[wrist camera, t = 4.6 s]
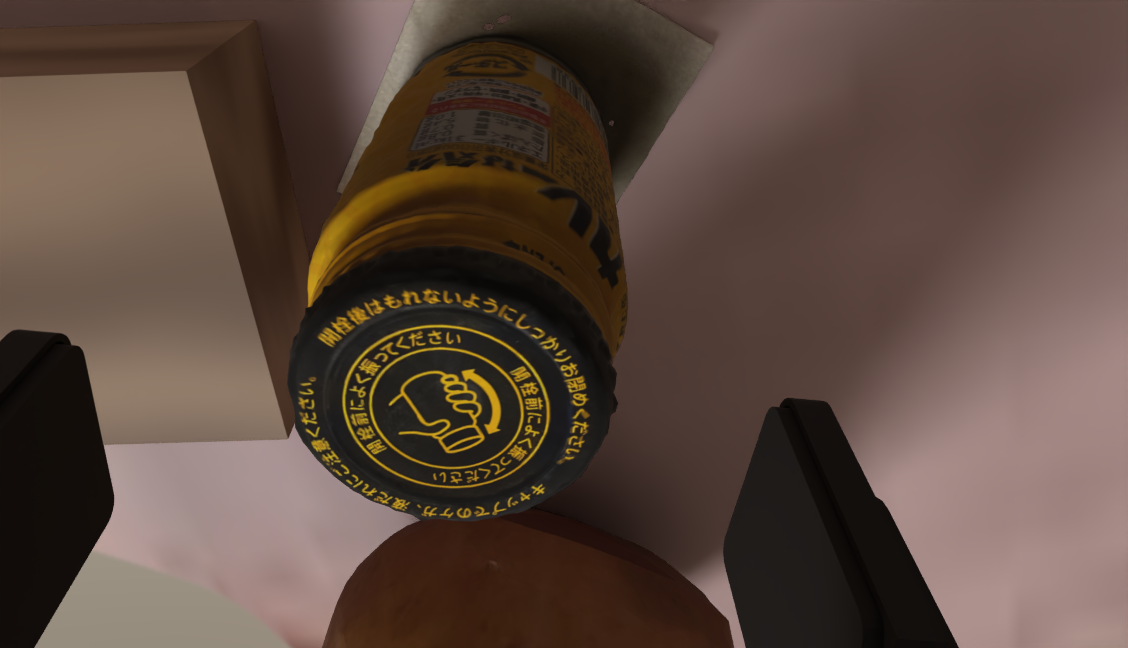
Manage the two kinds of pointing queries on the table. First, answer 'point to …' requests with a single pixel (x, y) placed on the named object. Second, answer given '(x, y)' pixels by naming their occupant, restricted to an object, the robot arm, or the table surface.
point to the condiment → (484, 254)
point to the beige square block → (154, 223)
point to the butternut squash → (520, 590)
